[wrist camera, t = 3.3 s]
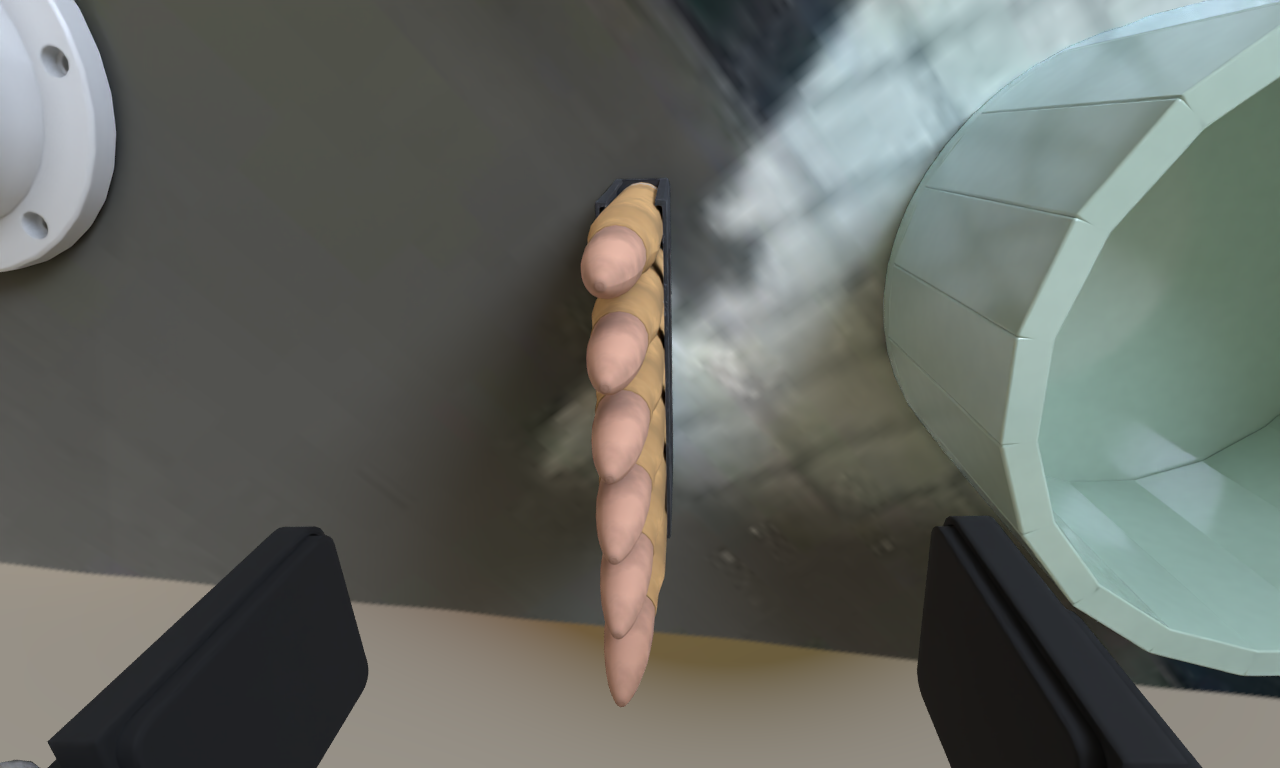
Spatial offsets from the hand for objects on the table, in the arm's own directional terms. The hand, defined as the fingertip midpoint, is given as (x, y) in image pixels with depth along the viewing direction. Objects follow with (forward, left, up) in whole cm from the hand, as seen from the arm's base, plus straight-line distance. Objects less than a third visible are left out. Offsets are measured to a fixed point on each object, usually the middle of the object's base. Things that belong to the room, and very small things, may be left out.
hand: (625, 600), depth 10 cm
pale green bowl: (+16, +1, -14) cm, 21 cm away
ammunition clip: (0, 0, -14) cm, 14 cm away
